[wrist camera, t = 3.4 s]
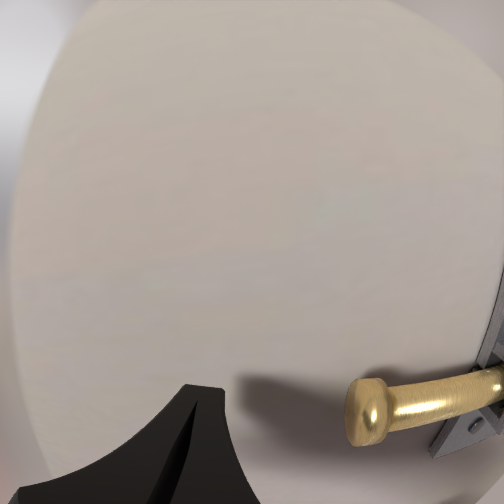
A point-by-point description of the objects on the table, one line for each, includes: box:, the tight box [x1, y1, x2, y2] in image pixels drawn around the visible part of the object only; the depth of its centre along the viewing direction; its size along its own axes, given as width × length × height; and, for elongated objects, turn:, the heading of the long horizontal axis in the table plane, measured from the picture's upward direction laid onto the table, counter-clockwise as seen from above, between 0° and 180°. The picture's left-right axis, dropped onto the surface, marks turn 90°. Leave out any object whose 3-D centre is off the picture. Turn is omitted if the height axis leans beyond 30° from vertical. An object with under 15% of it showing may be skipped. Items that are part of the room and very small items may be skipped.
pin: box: [344, 364, 504, 447], centre depth 8 cm, size 3×14×3 cm, turn 86°
